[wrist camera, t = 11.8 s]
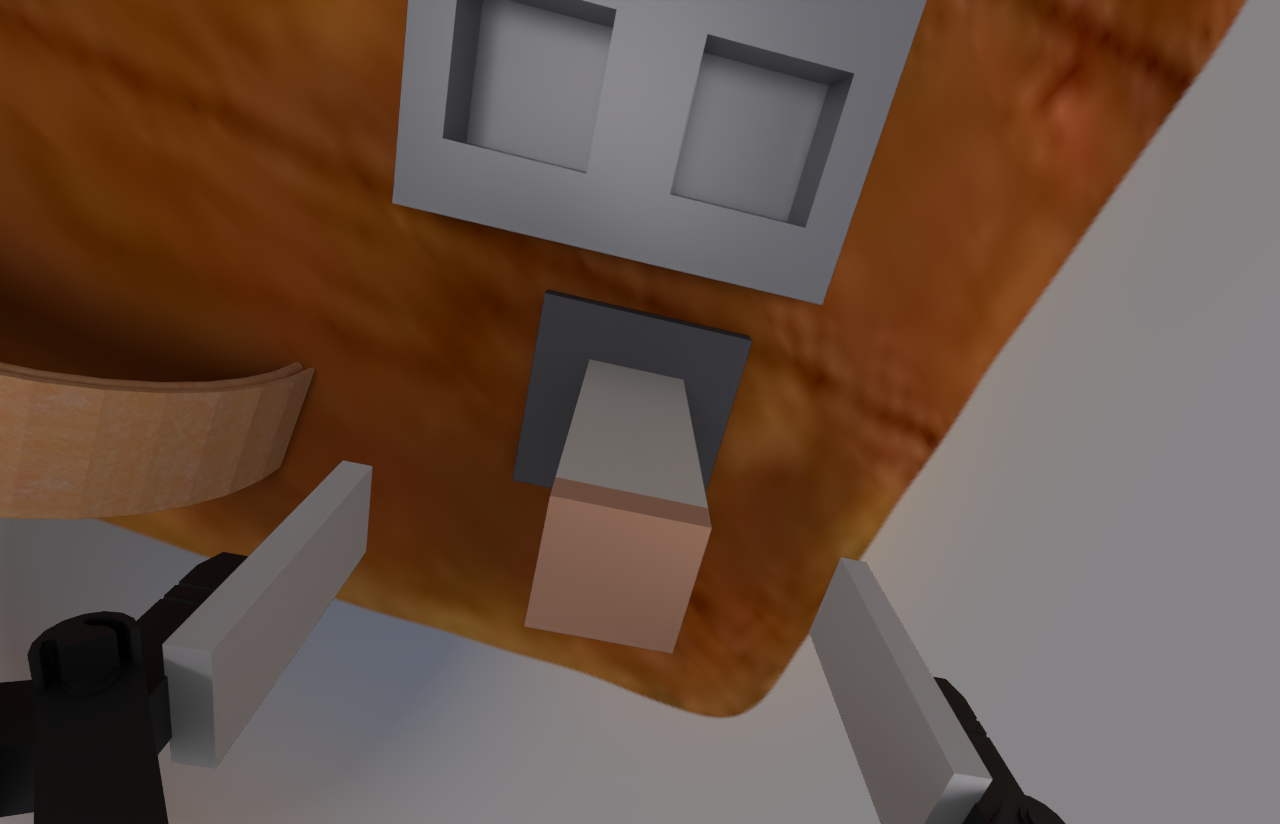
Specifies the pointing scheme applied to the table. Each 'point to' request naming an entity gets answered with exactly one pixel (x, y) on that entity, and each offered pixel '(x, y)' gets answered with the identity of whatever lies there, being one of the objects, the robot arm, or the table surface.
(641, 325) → the mat
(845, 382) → the table surface
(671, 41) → the grey boxy piece
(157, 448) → the arch
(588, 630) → the plug
